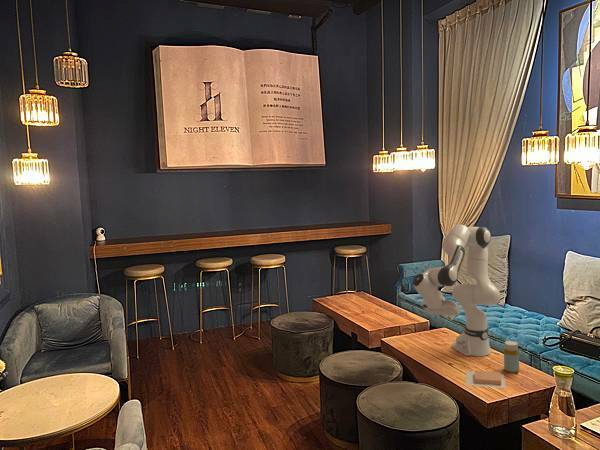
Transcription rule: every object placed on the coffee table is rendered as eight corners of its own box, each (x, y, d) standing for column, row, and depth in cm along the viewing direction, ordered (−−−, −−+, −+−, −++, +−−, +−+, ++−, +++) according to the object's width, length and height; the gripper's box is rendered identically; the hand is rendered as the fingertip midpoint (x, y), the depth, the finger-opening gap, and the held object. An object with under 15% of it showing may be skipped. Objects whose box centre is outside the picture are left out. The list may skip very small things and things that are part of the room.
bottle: (520, 374, 243) (520, 345, 241) (506, 373, 245) (505, 345, 243) (517, 368, 250) (516, 340, 248) (503, 368, 251) (502, 340, 250)
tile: (474, 378, 236) (501, 380, 232) (474, 370, 245) (500, 372, 241) (474, 383, 236) (501, 385, 232) (474, 374, 245) (500, 376, 241)
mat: (465, 386, 235) (465, 385, 235) (466, 372, 250) (466, 371, 250) (505, 389, 229) (505, 388, 229) (503, 374, 244) (503, 373, 244)
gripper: (454, 295, 238) (469, 314, 241) (424, 296, 256) (439, 314, 259) (448, 304, 235) (464, 324, 238) (418, 305, 253) (434, 323, 256)
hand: (451, 319), depth 249 cm, fingers closed
